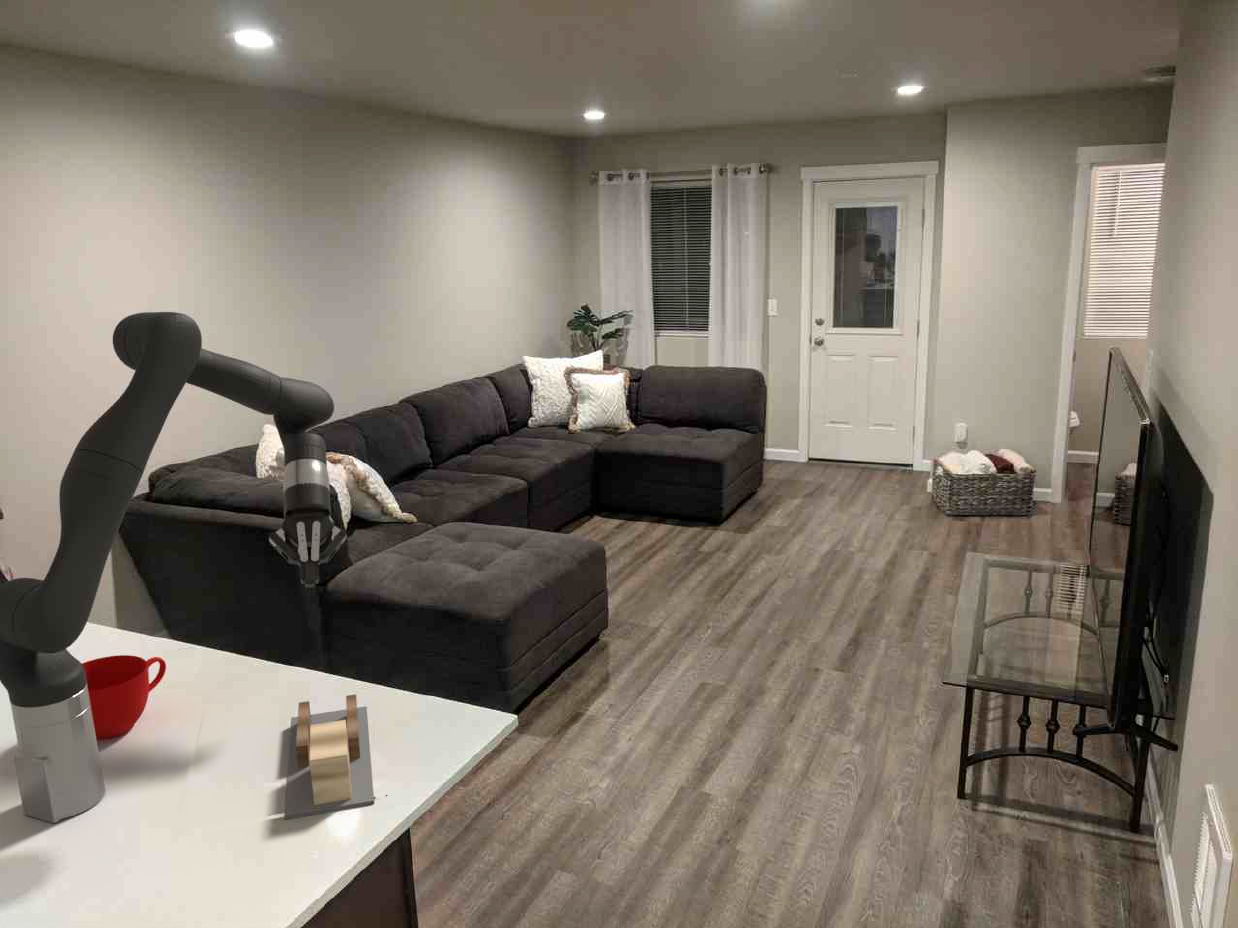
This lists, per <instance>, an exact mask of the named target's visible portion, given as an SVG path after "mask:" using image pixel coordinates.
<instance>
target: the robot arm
mask: <svg viewBox="0 0 1238 928" xmlns="http://www.w3.org/2000/svg"><path fill="white" fill-rule="evenodd" d="M202 339H203V337H202V333H201V329H200V327H199V325H198V324H197V322H196V321H195V320H194V318H192V317H190V316H189V315H187V314H186V313H181V312H176V311H175V312H174V311H153V312H152V311H147V312H137V313H133V314H130V315H127V316H126V317H124V318H122V319H121V320H120V321H119V322H118V323H117V325H116V326H115V328H114V330H113V334H112V346H113V350H114V352H115V354H116V356H117V358H118V359H119V360H120V361H121V362H122V363H123V365H125V366H127V368H130V369H131V370H133V371H134V373H133V376H132V378H131V380H130V382H129V384H128V385H127V387H126V388H125V390H124V392H123V393H122V394H121V395H120V396H119V398H118V399H117V400H116V401H115V402H114V403H113V404H112V405H111V406H110V407H109V408H108V409H107V410H106V411H105V412H104V413H102V415H101V416H100V417H98V418H97V420H95V422H94V423H93V424H92V425H90V427H89V428H88V429H87V431H86V432H85V433H84V434H83V435H82V437H81V438H80V439H79V441H78V443H77V445H76V447H75V449H74V450H73V452H72V455H71V457H70V458H69V459H70V460H69V461H68V464H67V465H66V468H65V471H64V472H63V475H62V478H61V481H60V485H59V500H58V501H59V503H58V504H59V515H60V518H59V519H60V539H59V543H58V547H57V550H56V553H55V556H54V558H53V560H52V562H51V564H50V566H49V568H48V571H47V572H46V575H45V577H44V579H38V578H33V577H32V578H31V577H19V578H12V579H11V580H8V581H6V582H4V583H3V584H1V585H0V683H1V684H2V686H3V687H4V689H5V690H6V691H7V694H8V698H9V699H8V700H9V703H10V707H11V709H10V710H11V713H12V719H13V724H14V730H15V735H16V740H17V746H18V750H17V751H15V752H14V753H13V755H12V758H13V759H12V760H13V763H14V769H15V775H16V778H17V784H18V790H19V796H20V801H21V804H22V811H23V815H25V816H29V817H33V818H35V819H38V820H42V821H46V822H49V823H52V824H56V823H58V822H60V821H61V820H63V819H67V818H70V817H73V816H76V815H79V814H81V813H83V812H85V811H87V810H89V809H92V807H94V806H96V804H97V803H98V804H99V802H100V801H101V800H102V799H103V797H104V795H105V794H106V788H105V782H104V777H103V770H102V764H101V763H102V762H101V759H100V751H99V747H98V741H97V740H98V739H96V734H95V728H94V722H93V716H92V710H91V704H90V698H89V692H88V686H87V679H86V674H85V669H84V667H83V665H82V663H81V661H80V660H78V659H77V658H76V657H75V656H73V654H71V653H70V651H68V648H69V647H71V646H72V645H73V644H74V643H75V642H76V641H77V640H78V638H79V637H80V636H81V635H82V633H83V631H84V629H85V627H86V626H87V623H88V621H89V617H90V615H91V612H92V609H93V606H94V602H95V599H96V597H97V592H98V590H99V587H100V583H101V580H102V576H103V572H104V570H105V568H106V567H105V566H106V564H107V560H108V559H109V555H110V552H111V549H112V547H113V545H114V542H115V540H116V538H117V535H118V532H119V530H120V526H121V524H122V522H123V519H124V517H125V515H126V512H127V510H128V508H129V506H130V504H131V501H132V499H133V497H134V495H135V493H136V491H137V489H138V486H139V484H140V481H141V479H142V477H143V474H144V472H145V470H146V466H147V465H148V462H149V458H150V456H151V454H152V452H153V450H154V447H155V445H156V443H157V441H158V438H159V437H160V434H161V432H162V430H163V428H164V425H165V423H166V421H167V419H168V417H169V414H170V413H171V410H172V408H173V407H174V405H175V402H176V401H177V398H178V397H179V396H180V394H181V392H182V391H183V389H184V387H185V385H186V384H189V385H191V386H195V387H197V388H200V389H202V390H205V391H208V392H210V393H213V394H215V395H217V396H220V397H222V398H225V399H227V400H230V401H232V402H235V403H237V404H239V405H241V406H244V407H246V408H248V409H251V410H252V411H256V412H258V413H259V414H263V415H267V416H272V417H273V421H274V424H275V425H274V426H275V427H276V430H277V433H278V436H279V438H280V442H281V445H282V448H283V452H284V453H283V455H284V456H283V458H284V467H283V468H284V469H283V471H284V473H283V479H282V480H283V481H282V483H283V488H282V489H283V490H282V491H283V521H282V522H281V527H280V528H279V529H278V530H277V531H272V532H270V533H268V541H269V542H268V543H269V544H270V545H271V546H272V547H273V548H274V549H275V550H276V551H277V552H278V554H280V556H282V557H283V558H284V560H286V561H287V563H288V564H290V565H297V566H299V570H300V583H301V584H302V585H305V586H304V587H305V588H315V586H316V585H317V584H319V581H320V567H319V566H320V565H321V564H323V563H326V564H327V563H328V562H329V561H331V559H332V558H333V556H334V555H335V554H336V553H337V552H338V550H339V549H340V547H341V546H342V545H343V544H344V543H345V541H347V535H348V531H347V530H346V529H345V528H342V529H340V528H339V527H337V526H336V525H335V521H334V520H333V518H332V514H331V513H332V511H331V496H330V495H331V494H330V493H331V492H330V490H331V487H330V477H329V476H330V475H329V472H328V464H327V445H326V442H325V440H324V438H323V437H322V436H320V435H319V434H316V433H313V432H306V431H308V430H311V429H313V428H315V427H317V426H319V425H321V424H323V423H325V422H327V421H329V420H330V419H331V418H332V416H333V414H334V411H335V403H334V400H333V397H332V396H331V395H330V393H329V392H328V391H327V390H326V389H324V388H323V387H322V386H320V385H318V384H316V383H313V382H311V381H305V380H300V379H295V378H292V377H291V378H290V377H282V376H280V375H277V374H276V373H273V372H271V371H269V370H268V369H265V368H263V367H260V366H258V365H256V364H253V363H250V362H248V361H245V360H242V359H238V358H234V357H231V356H227V355H224V354H220V353H217V352H213V351H210V350H207V349H205V348H202V345H203V340H202ZM331 534H332V535H331ZM330 535H331V542H330V543H328V545H327V546H326V548H324V549H323V551H322V552H320V546H321V545H323V544H324V543H325V542H326V540H328V538H329V536H330ZM285 536H286V537H285ZM286 538H287V539H288V540H289V541H290V543H292V545H294V546H295V547H297V551H298V553H296V551H294V550H293V548H291V547H290V546H289V544H288V543H287V542H286ZM308 548H311V550H310V551H311V552H310V553H311V555H310V561H309V554H308Z"/></svg>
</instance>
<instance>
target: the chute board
mask: <svg viewBox="0 0 1238 928" xmlns="http://www.w3.org/2000/svg"><path fill="white" fill-rule="evenodd" d="M367 709H368V706H367V705H366V706H361V707H360V706H359V707H357V710H358V726H359V743H360V758H355V759H349V760H350V780H351V799H346V800H340V801H335V802H329V803H324V804H318V805H314V796H313V787H312V777H311V768H310V765H309V766H306V767H300V768H298V761H297V752H296V739H297V723H298V716H293V717H291V720H290V721H291V722H290V734H289V735H290V736H289V749H288V761H287V762H288V763H287V774H286V775H287V776H286V784H285V785H286V786H285V787H286V788H285V797H284V799H285V800H284V811H283V812H284V814H283V819H284V820H288V819H294V818H300V817H307V816H311V815H316V814H317V815H318V814H322V813H329V812H334V811H338V810H345V809H350V808H357V807H362V806H363V807H364V806H366V805H367V806H368V805H373V804H375V795H374V785H373V784H374V783H373V769H372V757H371V746H370V734H369V733H370V732H369V720H368V710H367ZM340 720H346V728H347V710H346V709H340V710H334V711H326V712H321V713H319V712H318V713H314V714H313V713H312V714H311V725H314V724H321V723H327V722H334V721H340ZM347 739H348V738H347ZM348 750H349V749H348Z"/></svg>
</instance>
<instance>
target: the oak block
mask: <svg viewBox="0 0 1238 928" xmlns="http://www.w3.org/2000/svg"><path fill="white" fill-rule="evenodd" d="M310 768H311V777H312V787H313V796H314V805H318V804H324V803H329V802H335V801H340V800H346V799H351V780H350V760H349V750H348V739H347V728H346V720H340V721H334V722H327V723H321V724H314V725H311V730H310Z"/></svg>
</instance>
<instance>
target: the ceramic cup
mask: <svg viewBox="0 0 1238 928" xmlns="http://www.w3.org/2000/svg"><path fill="white" fill-rule="evenodd" d="M156 662H158V664H159V669H158V671H157V674H156V675H155V677H154V678H153V680H152V681H151V682H150V675H149V673H150V672H149V668H150V667H151V666H152V665H153V664H155V663H156ZM81 664H82V665H83V667H84V669H85V674H86V679H87V686H88V692H89V698H90V704H91V710H92V716H93V722H94V728H95V734H96V740H108V739H112V738H117V737H119V736H122V735H124V734H126V733H128V732H129V731H130V730H132V729H133V728H134V727H135V724H136V723H137V722H138V720H139V719H140V718H141V716H142V714H143V713H144V711H145V709H146V706H147V702H148V698H149V693H150V692H151V691H152V690H154V688H156V687H157V685H159V683H160V682H161V681H162V680H163V678H164V676H165V673H166V669H167V663H166V661H165V659H164V658H161V657H159V656H153V657H151V658H148V659H147V660H146V659H144V658H142V657H141V656H136V655H131V654H130V655H127V654H125V655H123V654H121V655H110V656H109V655H108V656H105V657H104V656H103V657H98V658H95V659H91V660H88V661H84V662H82V663H81Z"/></svg>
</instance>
